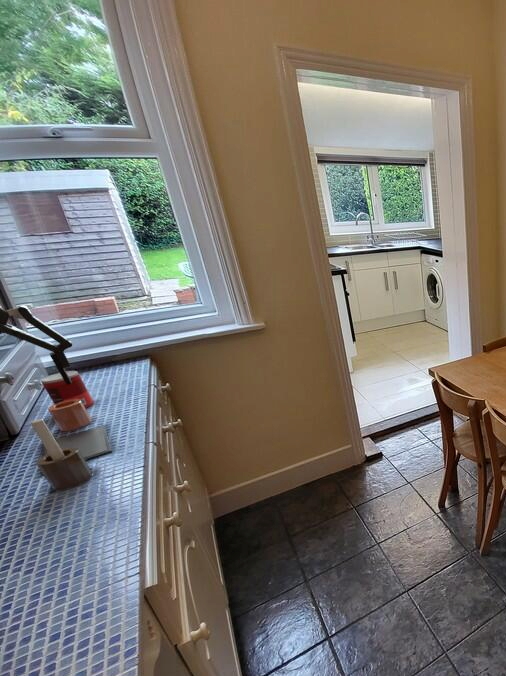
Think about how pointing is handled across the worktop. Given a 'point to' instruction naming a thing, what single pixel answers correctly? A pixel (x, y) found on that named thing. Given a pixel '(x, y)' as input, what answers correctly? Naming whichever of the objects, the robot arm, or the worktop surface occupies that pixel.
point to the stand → (65, 469)
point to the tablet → (86, 443)
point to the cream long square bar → (47, 439)
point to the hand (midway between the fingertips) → (21, 394)
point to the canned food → (67, 388)
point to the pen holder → (70, 415)
